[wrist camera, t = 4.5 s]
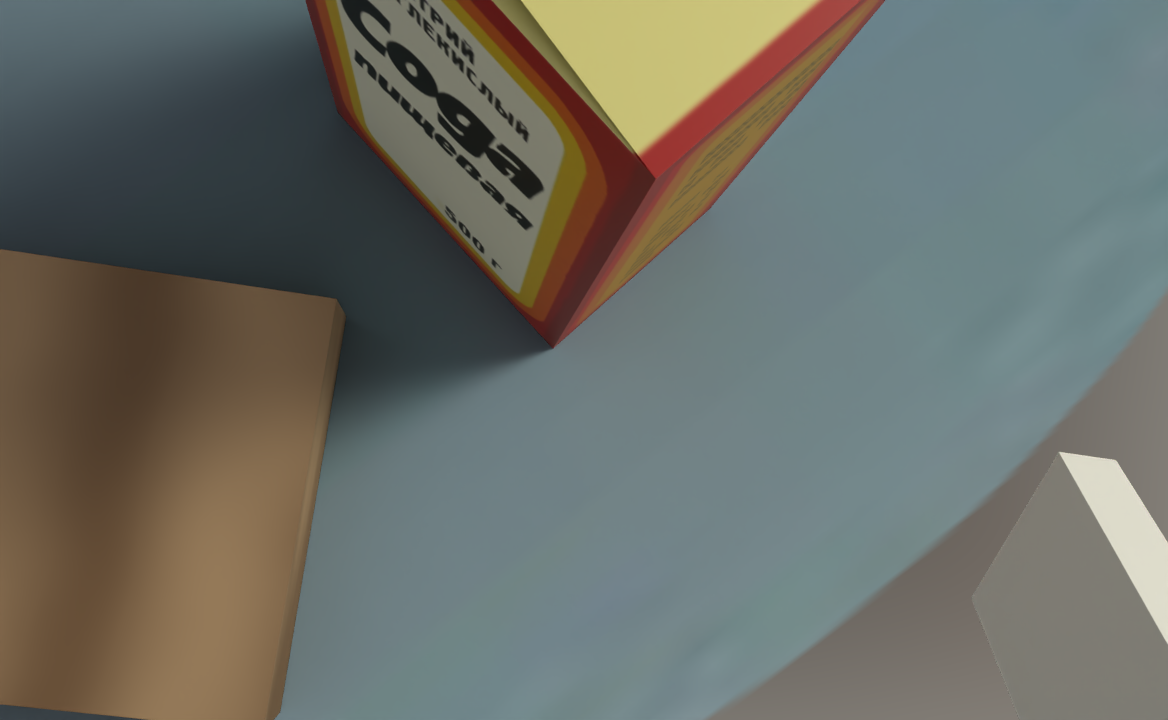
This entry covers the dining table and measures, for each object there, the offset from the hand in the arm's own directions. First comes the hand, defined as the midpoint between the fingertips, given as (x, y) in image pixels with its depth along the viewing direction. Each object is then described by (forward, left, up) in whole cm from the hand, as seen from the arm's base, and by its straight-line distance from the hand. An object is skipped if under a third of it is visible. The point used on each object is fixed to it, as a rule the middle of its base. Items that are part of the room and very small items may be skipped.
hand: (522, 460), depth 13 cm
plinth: (-10, -1, -17) cm, 20 cm away
